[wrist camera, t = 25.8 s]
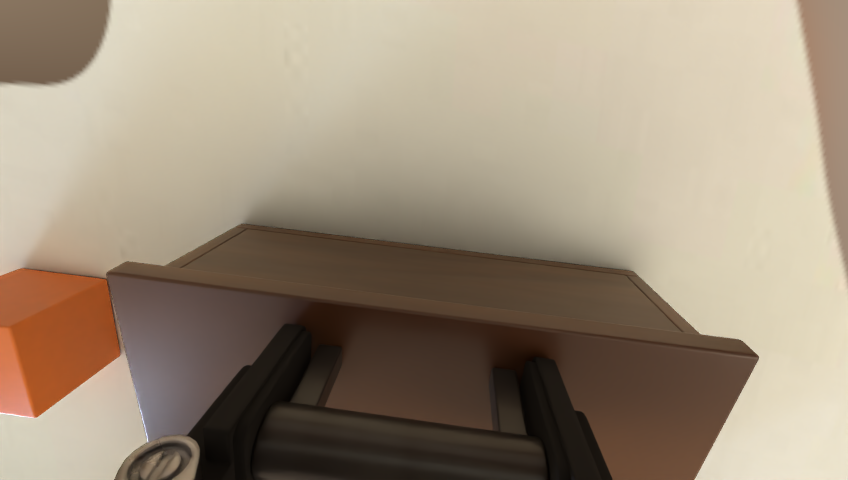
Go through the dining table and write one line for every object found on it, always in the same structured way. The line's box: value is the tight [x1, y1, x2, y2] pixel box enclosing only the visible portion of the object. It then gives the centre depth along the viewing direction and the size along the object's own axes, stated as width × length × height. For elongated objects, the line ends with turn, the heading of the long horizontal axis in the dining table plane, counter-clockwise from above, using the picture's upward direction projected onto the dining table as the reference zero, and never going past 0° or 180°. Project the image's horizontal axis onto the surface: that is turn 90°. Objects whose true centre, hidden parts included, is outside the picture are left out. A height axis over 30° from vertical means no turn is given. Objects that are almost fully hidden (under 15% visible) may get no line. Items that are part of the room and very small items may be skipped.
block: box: [0, 268, 120, 418], centre depth 18 cm, size 5×5×5 cm
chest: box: [165, 224, 701, 335], centre depth 18 cm, size 15×18×6 cm
